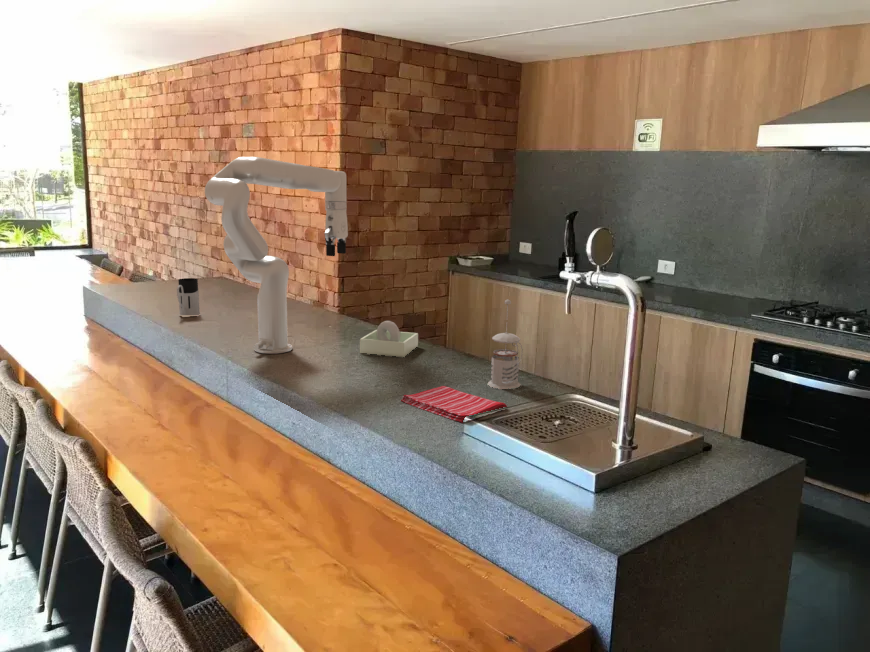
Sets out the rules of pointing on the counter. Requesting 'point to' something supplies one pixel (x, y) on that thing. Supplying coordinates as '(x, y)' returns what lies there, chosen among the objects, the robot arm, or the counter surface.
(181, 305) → the glass holder
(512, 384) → the french press
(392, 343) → the bin
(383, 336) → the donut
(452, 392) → the dish towel
